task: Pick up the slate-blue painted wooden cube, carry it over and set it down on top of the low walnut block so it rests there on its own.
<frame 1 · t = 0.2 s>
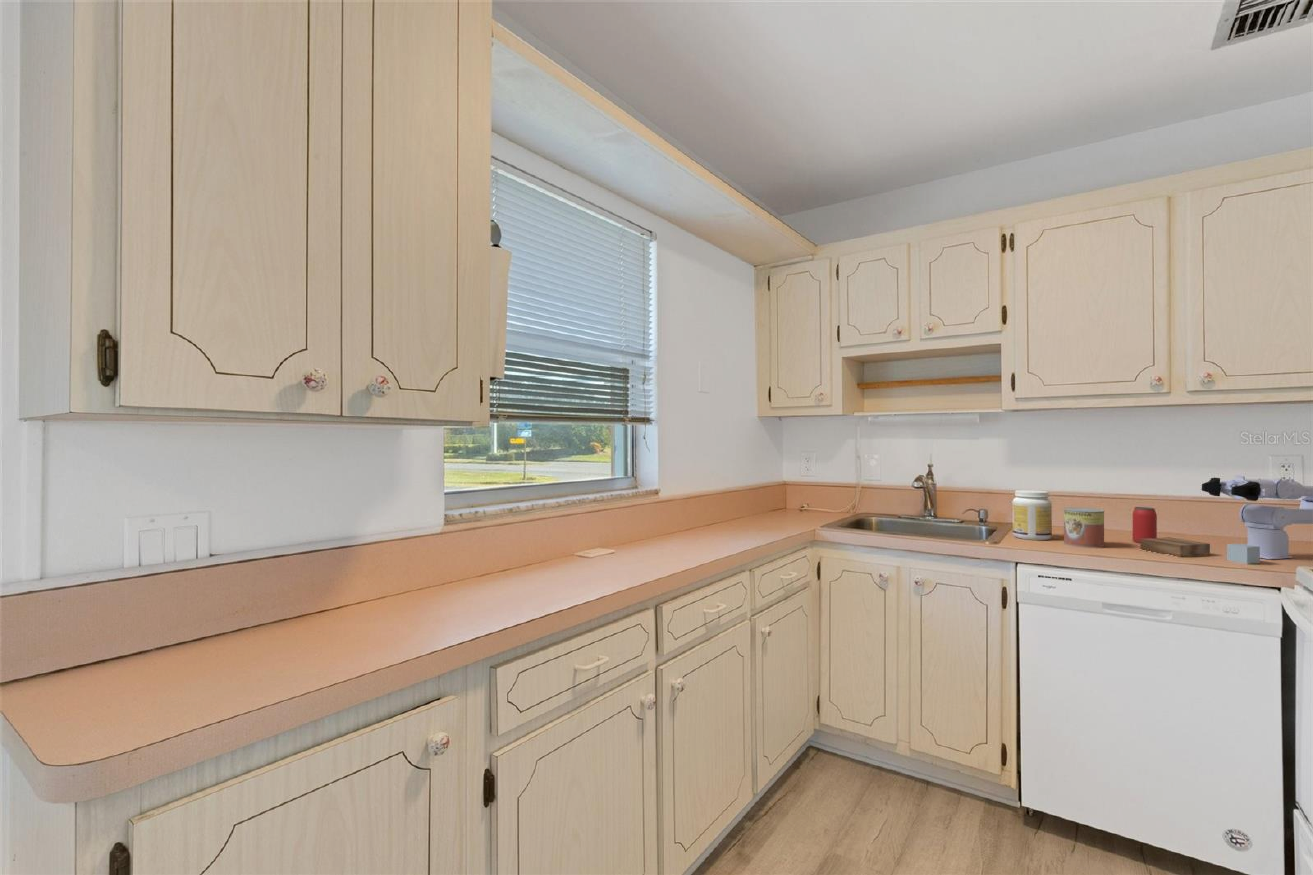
hand: (1217, 489, 181), 21 cm above the worktop, tool horizontal, fingers open, 7 cm apart
canned food: (1083, 545, 207), on the worktop
walnut block: (1174, 554, 193), on the worktop
beer can: (1144, 543, 211), on the worktop
supplement tub: (1031, 538, 221), on the worktop
slate cube: (1243, 562, 178), on the worktop
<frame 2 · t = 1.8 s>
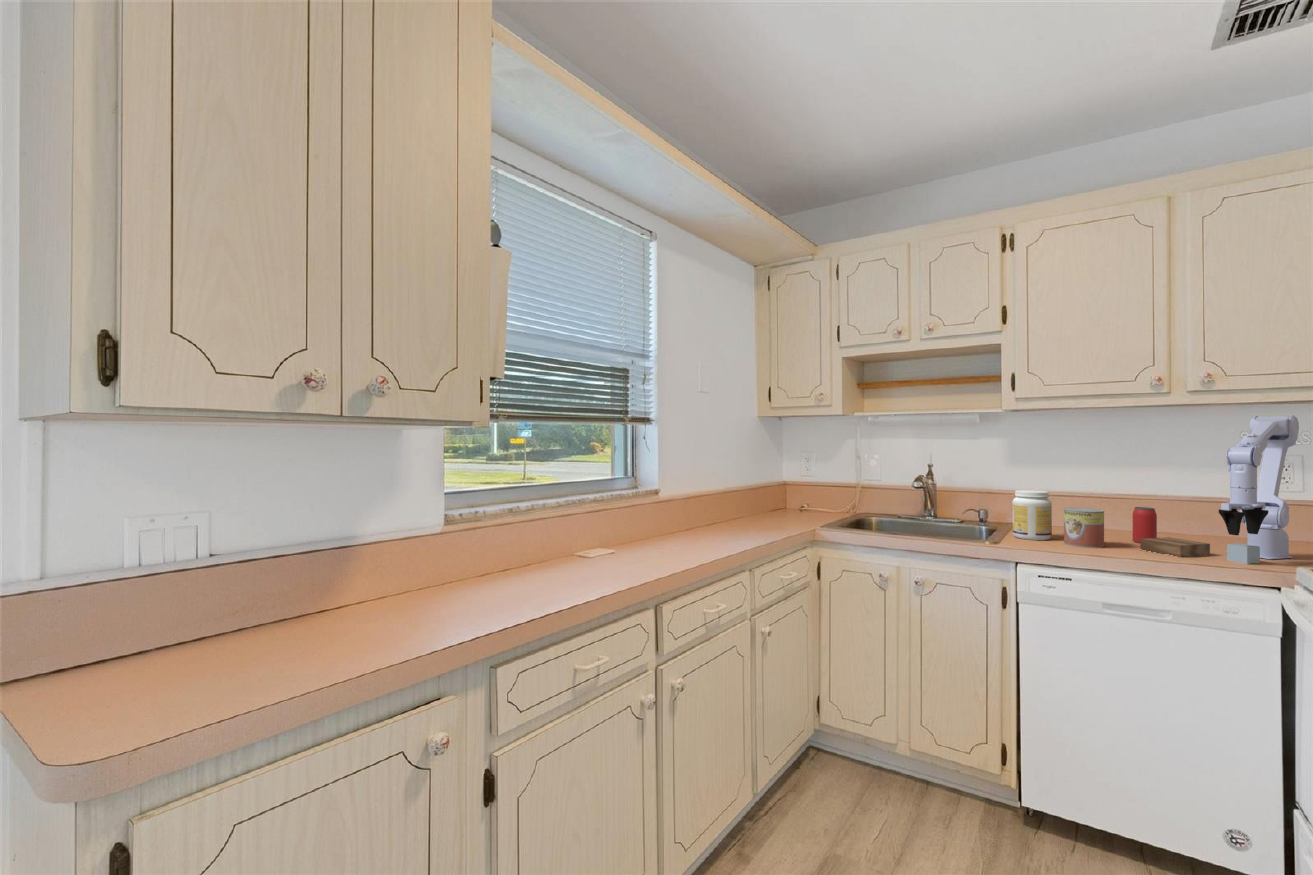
hand: (1243, 534, 178), 8 cm above the worktop, tool pointing down, fingers open, 7 cm apart
nothing on the worktop moved.
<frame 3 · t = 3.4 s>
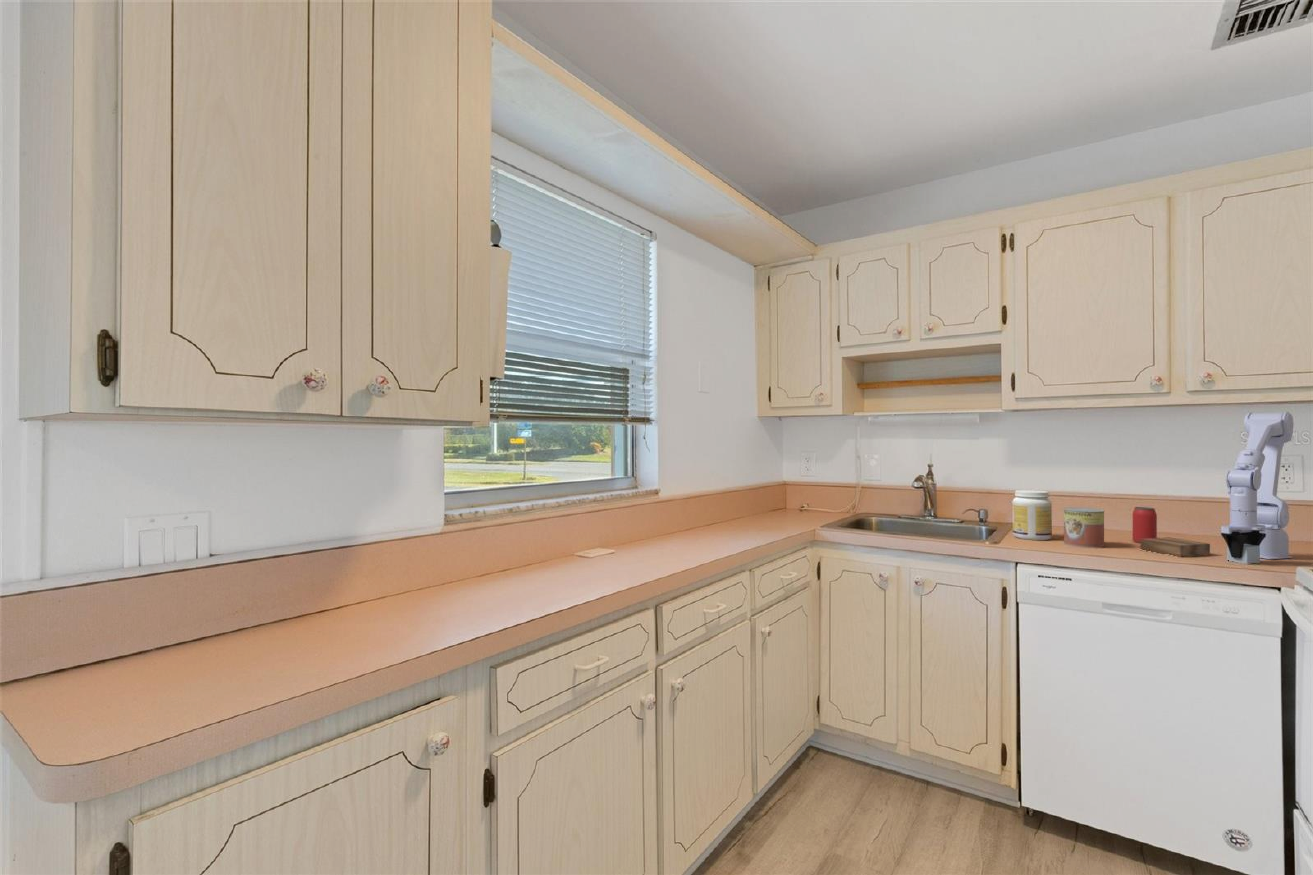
hand: (1243, 557, 178), 1 cm above the worktop, tool pointing down, fingers closed on slate cube, 5 cm apart
slate cube: (1243, 562, 178), on the worktop, touching gripper
everything else where it was.
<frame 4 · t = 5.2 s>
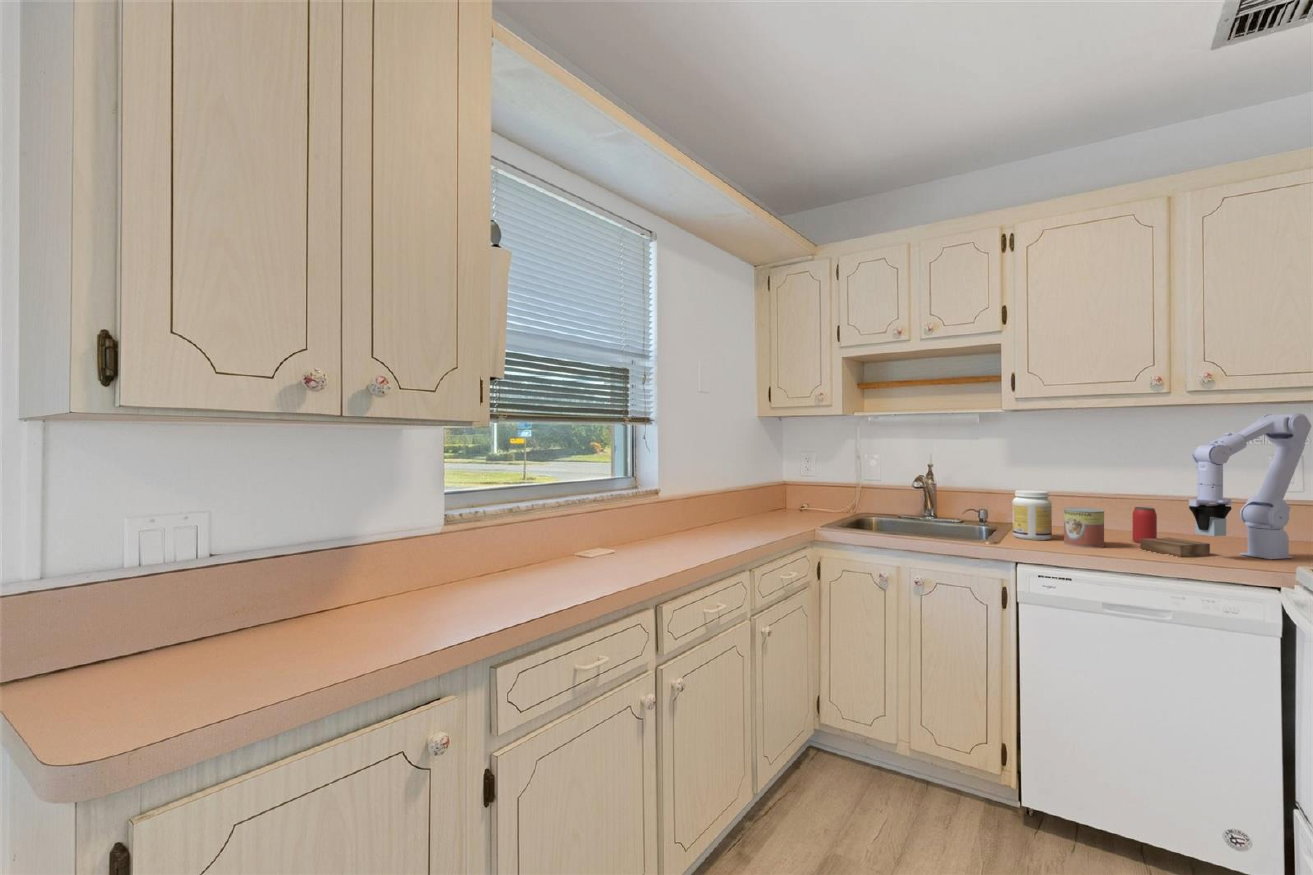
hand: (1210, 529, 185), 8 cm above the worktop, tool pointing down, fingers closed on slate cube, 5 cm apart
slate cube: (1210, 534, 185), point 7 cm above the worktop, touching gripper
everything else where it was.
when the fingers open (6 cm above the worktop, at t = 7.0 s): slate cube drops 1 cm, point 4 cm above the worktop.
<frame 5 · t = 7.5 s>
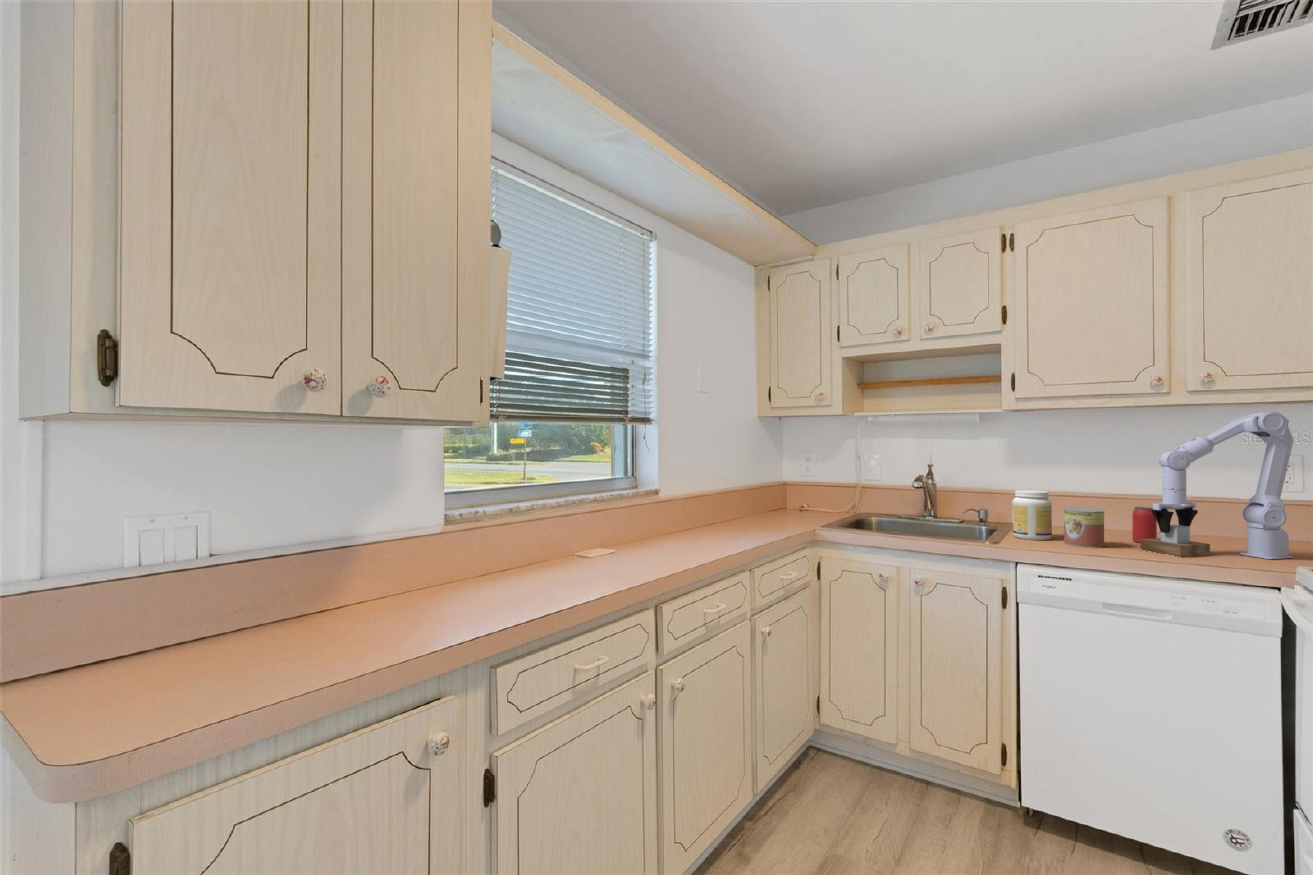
hand: (1174, 532, 193), 6 cm above the worktop, tool pointing down, fingers open, 7 cm apart
slate cube: (1175, 541, 193), point 4 cm above the worktop
everything else where it was.
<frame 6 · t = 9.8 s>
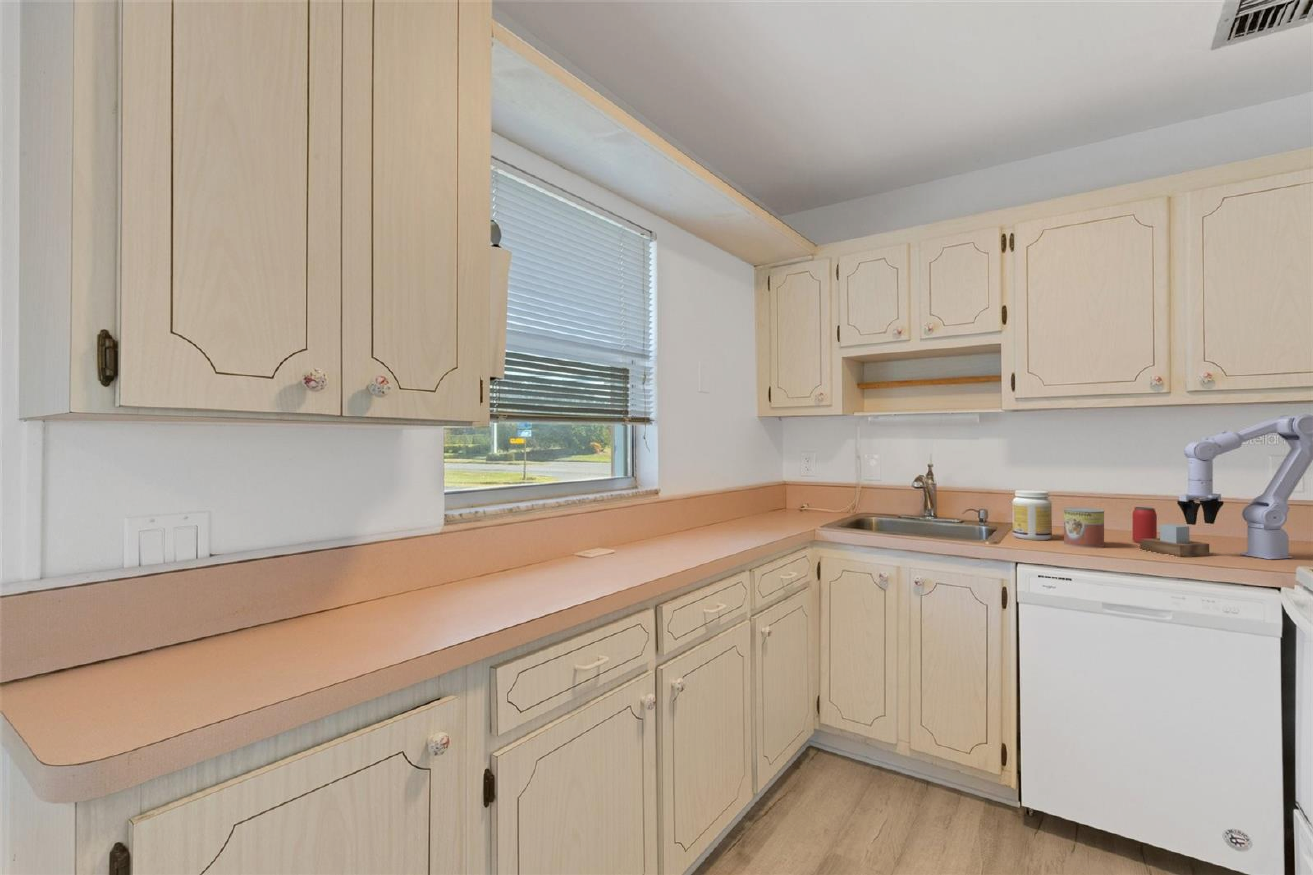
hand: (1200, 523, 190), 9 cm above the worktop, tool pointing down, fingers open, 7 cm apart
walnut block: (1173, 554, 193), on the worktop, touching slate cube
slate cube: (1174, 541, 193), point 4 cm above the worktop, touching walnut block
everything else where it was.
at the end: slate cube inside the target area on the walnut block (0.2 cm from its centre), point 4.0 cm above the walnut block's base; slate cube tilted 0°; the gripper is holding nothing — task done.
